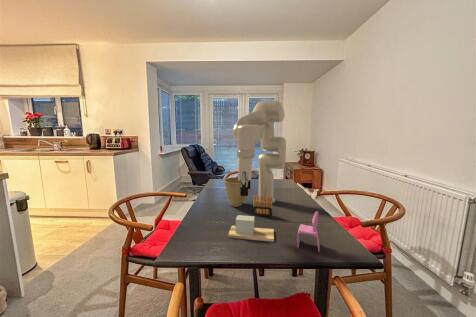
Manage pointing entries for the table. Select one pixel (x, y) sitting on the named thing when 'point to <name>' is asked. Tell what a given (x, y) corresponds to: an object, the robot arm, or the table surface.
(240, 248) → the table surface
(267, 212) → the ammunition clip
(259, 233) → the board
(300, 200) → the table surface
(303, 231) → the toy chair
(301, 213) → the table surface
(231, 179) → the plant pot
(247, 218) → the pale green notched block
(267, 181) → the robot arm
